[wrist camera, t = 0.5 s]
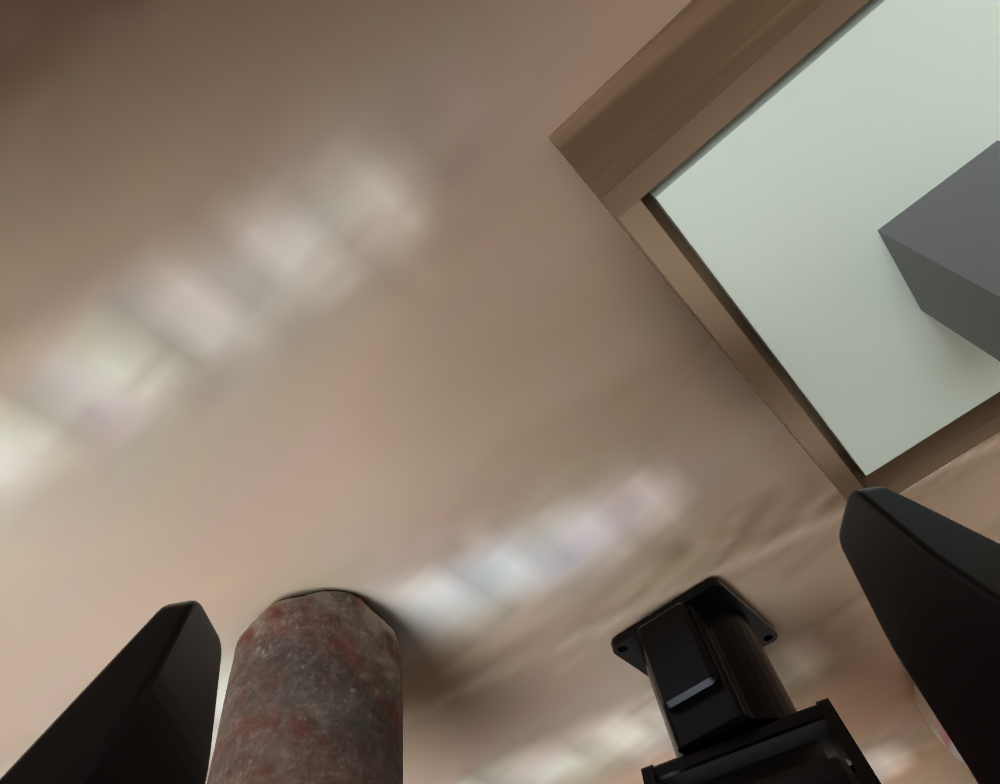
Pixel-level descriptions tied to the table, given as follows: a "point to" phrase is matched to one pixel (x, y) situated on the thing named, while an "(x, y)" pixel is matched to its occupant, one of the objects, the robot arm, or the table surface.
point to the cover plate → (866, 221)
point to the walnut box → (682, 131)
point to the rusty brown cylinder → (313, 697)
